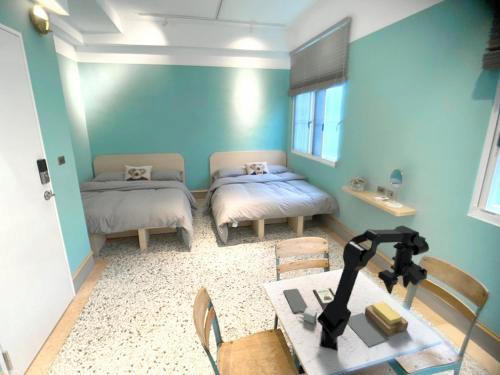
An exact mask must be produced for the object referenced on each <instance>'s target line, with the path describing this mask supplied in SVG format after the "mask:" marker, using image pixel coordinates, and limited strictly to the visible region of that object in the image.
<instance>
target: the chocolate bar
mask: <svg viewBox="0 0 500 375" xmlns="http://www.w3.org/2000/svg"><path fill="white" fill-rule="evenodd" d="M312 291H313V294H314V296H315V298H316V299H317V301H318V304H319V305H320V307H321V308H322V311H323V310H324V309H325V308H326V306H327V304H328V303H329V302H331V301H332V300H333V299H334V296H335V293H334V292H333V289H332V288H331V287H328V288H320V289H313V290H312Z"/></svg>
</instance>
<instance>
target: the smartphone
mask: <svg viewBox="0 0 500 375" xmlns="http://www.w3.org/2000/svg"><path fill="white" fill-rule="evenodd" d="M283 294H284V296H285V299H286V301H287V303H288V304H289V305H288V306H289V307H290V309H291V311H292V313H293V314H300V313H302V314H303V313H304V312H303V311H300V309H302V310H304V311H305V310H306V308H309V307H308V305H307V303H306V301H305V300H304V297H303V296H302V295H301V294H302V293H300V290H299V289H298V288H290V289H284V290H283ZM299 312H300V313H299Z"/></svg>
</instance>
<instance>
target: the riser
mask: <svg viewBox="0 0 500 375" xmlns="http://www.w3.org/2000/svg"><path fill="white" fill-rule="evenodd" d="M372 306H373V304H372V305H368V306H365V309H364V314H365V315H366V316H367V317H368V318H369V319H370V320H371V321H372V322H373V323H374V324H375V325H376V326H377V327H378V328H379V329H380V330H381V331H382V332H383V333H384V334H385V335H386V336H387V337H388V338H390V337H392V336H395V335H397V334H400V333H403V332H405V331H407V330H408V326H409V321H407V320H406V319H405V317H403V316H402V320H401V321H399V322H396V323H393V324H390V325H389V324H388V323H387V322H386V321H385V320H384V319H383V318H382V317H381V316H380V315H379V314H377V313H376V312H375V311H374V310H373V309H372Z"/></svg>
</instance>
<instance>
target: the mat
mask: <svg viewBox="0 0 500 375" xmlns="http://www.w3.org/2000/svg"><path fill="white" fill-rule="evenodd" d="M347 325H348V326H349V328H351V330H353V331H354V333H355V334H356V335H357V336H358V337H359V338H360V339H361V341H363V343H364V344H365V345H366V347H368V348H370V347H373V346H376V345H378V344H381V343H384V342H386V341H390V337H387V336H386V335H385V334H384V333H383V332H382V331H381V330H380V329H379V328H378V327H377V326H376V325H375V324H374V323H373V322H372V321H371V320H370V319H369V318H368V317H367V316H366V315H365V312H361V313H360V312H359V313H357V314H355V315H351V316H350V318H349V322H348V323H347Z"/></svg>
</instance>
